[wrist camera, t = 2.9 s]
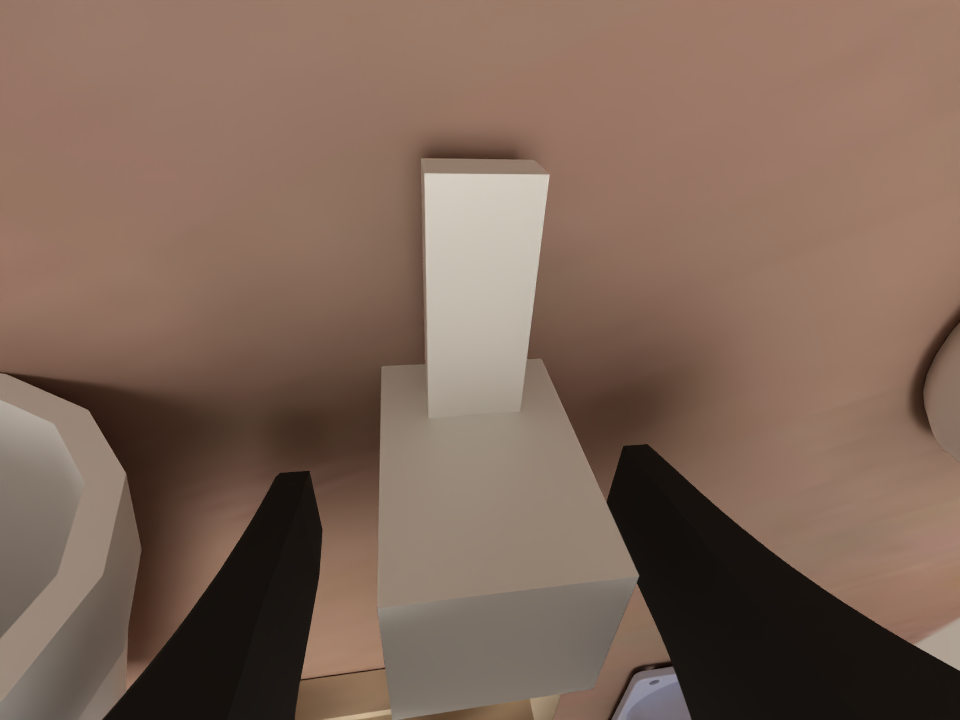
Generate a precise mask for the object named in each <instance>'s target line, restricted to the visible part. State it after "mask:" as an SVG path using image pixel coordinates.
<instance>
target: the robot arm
mask: <svg viewBox="0 0 960 720" xmlns="http://www.w3.org/2000/svg"><path fill="white" fill-rule="evenodd" d="M606 503H607V505H608V508H609V510H610V512H611V514H612V516H613V519H614V521H615V523H616V525H617V528H618V530H619V532H620V534H621V536H622V539H623V541H624V543H625V545H626V548H627V550H628V552H629V554H630V556H631V559H632V561H633V563H634V565H635V568H636V570H637V572H638V574H639V578H638V580H637V584H638V586H639V588H640V591H641V593H642V595H643V597H644V599H645V602H646V604H647V606H648V608H649V610H650V613H651V615H652V617H653V619H654V621H655V623H656V626H657V628H658V630H659V632H660V634H661V637H662V639H663V642H664V644H665V647H666V649H667V651H668V654H669V656H670V659H671V662H672V665H673V667H666V668H660V669H653V670H647V671H641V672H638V673H636V674H635V675H634V676H633V678H632V680H631V682H630V684H629V686H628V688H627V690H626V692H625V694H624V696H623V698H622V700H621V702H620V704H619V706H618V708H617V710H616V712H615V714H614V716H613V718H612V720H960V671H959V670H957V669H955V668H953V667H952V666H950V665H948V664H946V663H944V662H943V661H941V660H939V659H937V658H936V657H934V656H932V655H930V654H928V653H927V652H925V651H923V650H921V649H919V648H918V647H916V646H914V645H912V644H911V643H909V642H907V641H905V640H904V639H902V638H900V637H899V636H897V635H895V634H894V633H892V632H890V631H889V630H887V629H885V628H883V627H882V626H880V625H879V624H877V623H875V622H874V621H872V620H871V619H869V618H867V617H866V616H864V615H863V614H861V613H859V612H858V611H856V610H855V609H853V608H852V607H850V606H848V605H847V604H845V603H844V602H842V601H841V600H839V599H838V598H836V597H835V596H833V595H832V594H830V593H829V592H827V591H826V590H824V589H823V588H821V587H820V586H818V585H817V584H815V583H814V582H813V581H811V580H810V579H808V578H807V577H806V576H804V575H803V574H801V573H800V572H798V571H797V570H796V569H794V568H793V567H791V566H790V565H789V564H787V563H786V562H785V561H783V560H782V559H781V558H779V557H778V556H777V555H775V554H774V553H773V552H771V551H770V550H769V549H768V548H766V547H765V546H764V545H763V544H761V543H760V542H759V541H757V540H756V539H755V538H754V537H752V536H751V535H750V534H749V533H747V532H746V531H745V530H744V529H742V528H741V527H740V526H739V525H738V524H736V523H735V522H734V521H733V520H732V519H730V518H729V517H728V516H727V515H726V514H725V513H723V512H722V511H721V510H720V509H719V508H718V507H717V506H715V505H714V504H713V503H712V502H711V501H710V500H708V499H707V498H706V497H705V496H704V495H703V494H702V493H701V492H700V491H698V490H697V489H696V488H695V487H694V486H693V485H692V484H691V483H690V482H688V481H687V480H686V479H685V478H684V477H683V476H682V475H681V474H680V473H679V472H677V471H676V470H675V469H674V468H673V467H672V466H671V465H670V464H669V463H668V462H667V461H665V460H664V459H663V458H662V457H661V456H660V455H659V454H658V453H657V452H656V451H654V450H653V449H652V448H651V447H650V446H649V445H648V444H644V445H631V446H623V449H622V452H621V456H620V459H619V462H618V466H617V469H616V472H615V476H614V479H613V482H612V486H611V489H610V492H609V496H608V499H607V502H606ZM321 544H322V526H321V521H320V517H319V512H318V508H317V503H316V498H315V494H314V489H313V485H312V480H311V476H310V471H302V472H289V473H280V474H279V475H278V476H276V477H275V479H274V481H273V483H272V485H271V487H270V489H269V491H268V492H267V494H266V496H265V498H264V500H263V501H262V503H261V505H260V507H259V508H258V510H257V512H256V514H255V515H254V517H253V519H252V520H251V522H250V524H249V525H248V527H247V529H246V530H245V532H244V533H243V535H242V537H241V538H240V540H239V541H238V543H237V544H236V546H235V548H234V549H233V551H232V552H231V554H230V555H229V557H228V558H227V560H226V561H225V563H224V565H223V566H222V568H221V569H220V571H219V572H218V574H217V575H216V576H215V578H214V579H213V581H212V582H211V583H210V585H209V586H208V588H207V589H206V591H205V592H204V593H203V595H202V596H201V598H200V599H199V600H198V602H197V603H196V605H195V606H194V607H193V609H192V610H191V612H190V613H189V614H188V616H187V617H186V618H185V620H184V621H183V622H182V624H181V625H180V626H179V628H178V629H177V630H176V632H175V633H174V634H173V635H172V637H171V638H170V639H169V641H168V642H167V643H166V644H165V646H164V647H163V648H162V649H161V651H160V652H159V653H158V654H157V656H156V657H155V658H154V659H153V660H152V662H151V663H150V664H149V665H148V667H147V668H146V669H145V670H144V672H143V673H142V674H141V675H140V676H139V677H138V679H137V680H136V681H135V682H134V683H133V684H132V686H131V687H130V688H129V689H128V690H127V691H126V693H125V694H124V695H123V696H122V697H121V698H120V699H119V701H118V702H117V703H116V704H115V705H114V706H113V708H112V709H111V710H110V711H109V712H108V713H107V715H106V716H105V717H104V718H103V719H102V720H295V713H296V705H297V698H298V692H299V685H300V679H301V674H302V669H303V663H304V658H305V652H306V647H307V641H308V636H309V630H310V625H311V619H312V614H313V608H314V603H315V597H316V592H317V586H318V580H319V572H320V559H321Z"/></svg>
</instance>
